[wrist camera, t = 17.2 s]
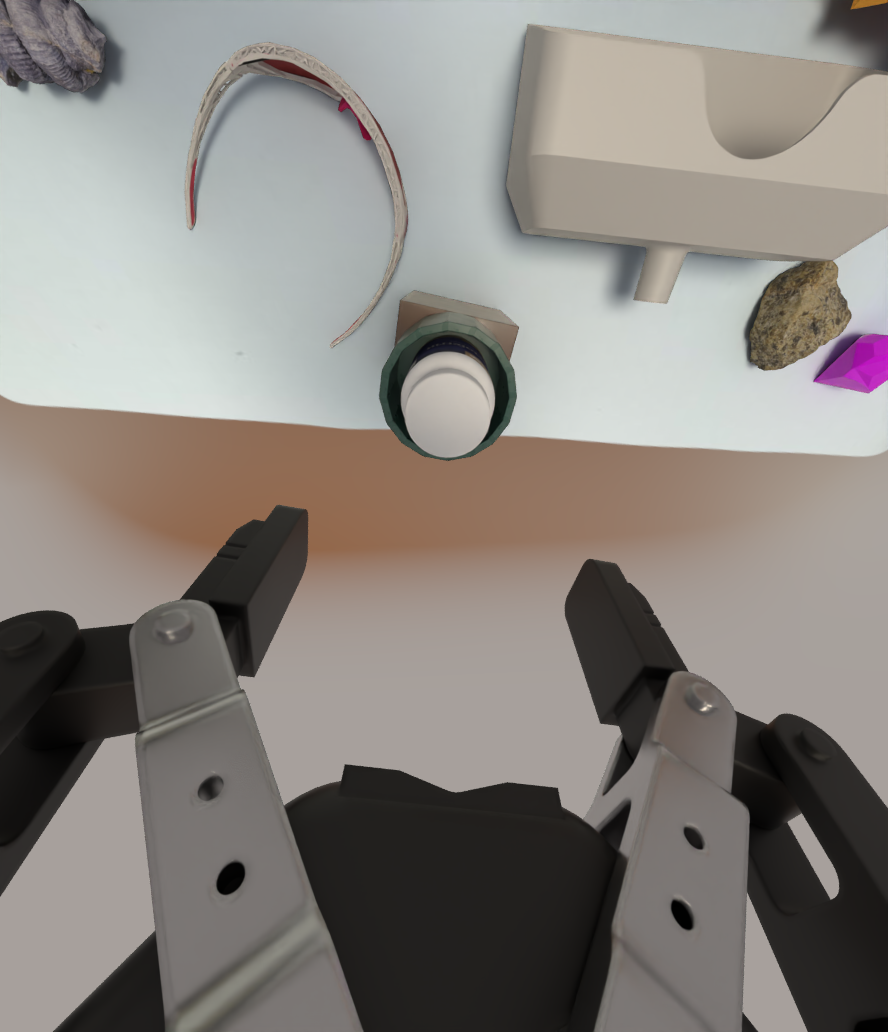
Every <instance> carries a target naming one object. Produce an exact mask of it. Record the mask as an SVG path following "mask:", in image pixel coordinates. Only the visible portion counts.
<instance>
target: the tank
mask: <svg viewBox="0 0 888 1032" xmlns="http://www.w3.org/2000/svg"><path fill="white" fill-rule="evenodd" d="M506 187H507V190H508V193H509V196H510V198H511V201H512V204H513V207H514V210H515V213H516V216H517V219H518V222H519V225H520V227H521V230H522V233H526V234H533V235H542V236H551V237H561V238H570V239H579V240H588V241H597V242H606V243H615V244H624V245H633V246H642V247H646V250H647V252H646V256H645V260H644V263H643V267H642V271H641V274H640V278H639V281H638V285H637V289H636V292H635V296H634V299H633V300H638V301H645V302H653V303H663V304H667V302H668V300H669V297H670V294H671V292H672V289H673V287H674V284H675V281H676V279H677V276H678V274H679V271H680V269H681V266H682V263H683V261H684V258H685V256H686V254H687V253H688V252H697V253H706V254H715V255H724V256H733V257H742V258H751V259H760V260H769V261H833V260H835V259H836V258H838V257H840V256H841V255H843V254H844V253H846V252H848V251H849V250H851V249H852V248H854V247H855V246H857V245H859V244H860V243H862V242H863V241H865V240H867V239H868V238H870V237H871V236H873V235H875V234H876V233H878V232H879V231H881V230H883V229H884V228H886V227H887V226H888V71H881V70H875V69H869V68H862V67H856V66H848V65H841V64H833V63H826V62H818V61H810V60H803V59H795V58H787V57H780V56H772V55H764V54H757V53H749V52H741V51H734V50H726V49H719V48H711V47H703V46H696V45H688V44H680V43H673V42H665V41H657V40H650V39H642V38H634V37H627V36H619V35H611V34H604V33H596V32H588V31H581V30H573V29H565V28H558V27H550V26H542V25H534V24H528V26H527V33H526V41H525V48H524V56H523V63H522V70H521V78H520V85H519V93H518V100H517V107H516V115H515V122H514V130H513V137H512V144H511V152H510V159H509V167H508V174H507V181H506Z"/></svg>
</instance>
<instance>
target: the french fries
mask: <svg viewBox="0 0 888 1032" xmlns="http://www.w3.org/2000/svg"><path fill="white" fill-rule="evenodd" d="M883 3H888V0H854V1H853V4H852V7H851V9H857V8H862V7H867V6H873V5H878V4H883Z"/></svg>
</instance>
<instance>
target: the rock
mask: <svg viewBox="0 0 888 1032" xmlns="http://www.w3.org/2000/svg"><path fill="white" fill-rule="evenodd" d="M837 278H838V267H837V265H836V264H835V263H834V262H833V261H806V262H805V263H803V264H802V265H801V266H800V267H797V268H793V269H789V270H788V271H786V272H784V273H782V274H780V275H779V276H778V277H777V278H776V279H775V280H774V281H772V282H771V284H770V285H769V287H768V289H767V290H766V292H765V295H764V296H763V298H762V300H761V305H760V308H759V311H758V315H757V318H756V320H755V322H754V326H753V328H752V329H751V330H750V337H749V339H750V341H751V357H750V362H753V363H755V365H757V366H758V368H759V369H760V368H761V369H762V370H777V369H782V368H784V367H786V366H787V365H789V364H792V363H795V362H796V361H797V360H798V359H802V358H805V357H807V356H808V355H810V354H812V353H813V352H815V351H816V350H817V349H818V347H819V346H821V345H825V344H826V343H827V342H828V341H829V340H832V339H834V338H836V337H837V336H839V335H840V334H841V333H842V332H843V330H844V329H845V328H846V326H847V324H848V322H849V321H850V319H851V312H850V310H849V309H848V306H847V301H846V299H845V298H844V297H843V295H842V294H841V293H840V288H839V287H838V285H837V281H836V279H837Z"/></svg>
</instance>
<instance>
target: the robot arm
mask: <svg viewBox="0 0 888 1032" xmlns="http://www.w3.org/2000/svg"><path fill="white" fill-rule="evenodd" d="M307 555H308V512H307V510H306V509H300V508H294V507H288V506H282V505H277V506H276V507H275V508H274V510H273V511H272V513H271V514H270V515H269V516H268V518H267V519H266V521H259V520H252V521H250V522H249V523H247V524H245V525H243V526H242V527H240V528H238V529H236V531H235V532H234V533H233V534H232V536H231V537H230V538H229V540H228V541H227V542H226V545H224V546H223V547H222V548H221V549H220V550H219V552H218V553H217V556H216V557H214V558H213V559H212V560H211V562H210V563H209V564H208V565H207V567H206V568H205V569H204V570H203V572H202V573H201V574H200V575H199V576H198V578H197V579H196V580H195V582H194V583H193V584H192V585H191V586H190V588H189V589H188V590H187V591H186V593H185V594H184V595H183V596H182V598H181V599H180V600H176V601H172V602H168V603H165V604H162V605H159V606H157V607H155V608H153V609H151V610H149V611H148V612H146V613H145V614H144V615H142V616H141V617H140V618H139V619H138V620H137V621H136V622H135V623H133V624H127V625H118V626H109V627H99V628H89V629H80V630H79V628H78V625H77V623H76V621H75V619H74V618H73V617H72V616H70V615H68V614H66V613H63V612H59V611H36V612H30V613H26V614H21V615H18V616H15V617H12V618H9V619H7V620H4V621H2V622H0V896H1V894H2V893H3V892H4V890H5V889H6V887H7V886H8V884H9V883H10V881H11V880H12V878H13V876H14V875H15V873H16V872H17V870H18V869H19V867H20V866H21V864H22V863H23V861H24V860H25V858H26V857H27V855H28V854H29V852H30V851H31V849H32V848H33V846H34V844H35V843H36V842H37V840H38V839H39V837H40V836H41V834H42V832H43V831H44V830H45V828H46V826H47V825H48V824H49V822H50V821H51V819H52V817H53V816H54V814H55V813H56V811H57V810H58V808H59V807H60V805H61V804H62V802H63V801H64V799H65V798H66V796H67V795H68V793H69V792H70V790H71V789H72V787H73V786H74V784H75V783H76V781H77V780H78V778H79V777H80V775H81V774H82V772H83V770H84V769H85V768H86V766H87V765H88V763H89V762H90V760H91V758H92V757H93V755H94V754H95V752H96V751H97V749H98V748H99V746H100V745H101V743H102V742H103V740H104V739H105V738H110V737H115V736H121V735H126V734H131V733H136V732H138V733H137V734H136V737H135V747H136V758H137V767H138V776H139V785H140V794H141V802H142V803H141V804H142V812H143V822H144V831H145V840H146V849H147V858H148V867H149V876H150V885H151V895H152V904H153V913H154V922H155V931H154V932H153V933H152V934H151V935H150V936H149V937H148V938H147V939H146V940H145V941H144V942H143V943H142V944H141V945H140V946H139V947H138V948H137V949H136V950H135V951H134V952H133V953H132V954H131V955H130V956H129V957H128V958H127V959H126V960H125V961H124V962H123V963H122V964H121V965H120V966H119V967H118V968H117V969H116V970H115V971H114V972H113V973H112V974H111V975H110V976H109V977H108V978H107V979H106V980H105V981H104V982H103V983H102V984H101V985H100V986H99V987H98V988H97V989H96V990H95V991H94V992H93V993H92V994H91V995H90V996H89V997H88V998H86V999H85V1000H84V1001H83V1003H82V1004H81V1005H80V1006H78V1007H77V1008H76V1009H75V1010H74V1011H73V1012H72V1013H71V1014H70V1015H69V1016H68V1017H67V1018H66V1019H65V1020H64V1021H63V1022H62V1023H61V1024H60V1026H58V1027H57V1028H56V1029H55V1030H54V1031H53V1032H758V1031H757V1030H756V1029H755V1027H754V1026H753V1025H752V1024H751V1022H750V1021H749V1020H748V1018H747V1017H746V1016H745V1015H744V1013H743V1012H742V1005H743V980H744V953H745V928H746V901H747V893H748V895H749V897H750V900H751V902H752V904H753V906H754V909H755V911H756V913H757V916H758V918H759V920H760V923H761V925H762V927H763V930H764V932H765V934H766V936H767V939H768V941H769V943H770V945H771V948H772V950H773V953H774V955H775V957H776V959H777V962H778V964H779V966H780V969H781V971H782V973H783V975H784V978H785V980H786V982H787V985H788V987H789V989H790V991H791V994H792V996H793V998H794V1001H795V1003H796V1005H797V1008H798V1010H799V1012H800V1015H801V1017H802V1019H803V1022H804V1024H805V1026H806V1028H807V1031H808V1032H888V808H887V807H886V805H885V804H884V803H883V802H882V800H881V799H880V797H879V796H878V795H877V793H876V792H875V791H874V790H873V788H872V787H871V786H870V784H869V783H868V782H867V780H866V779H865V778H864V776H863V775H862V774H861V773H860V771H859V770H858V769H857V767H856V766H855V765H854V763H853V762H852V761H851V759H850V758H849V757H848V756H847V754H846V753H845V752H844V750H842V748H841V747H840V746H839V745H838V744H837V743H836V742H835V741H834V740H833V739H832V738H831V737H830V736H829V735H828V734H827V733H825V732H824V731H823V730H822V729H820V728H818V727H817V726H816V725H814V724H813V723H811V722H809V721H807V720H805V719H803V718H801V717H798V716H796V715H792V714H781V715H779V716H778V717H776V718H775V719H774V720H773V721H772V722H771V723H769V724H765V723H763V722H760V721H758V720H755V719H753V718H751V717H748V716H746V715H744V714H741V713H739V712H736V711H735V710H734V708H733V706H732V705H731V703H730V701H729V700H728V699H727V698H726V696H725V695H724V694H723V693H722V692H721V691H720V690H719V689H718V688H717V687H716V686H714V685H713V684H712V683H710V682H709V681H707V680H706V679H704V678H702V677H701V676H698V675H696V674H693V673H690V672H689V671H688V670H687V668H686V666H685V664H684V663H683V661H682V659H681V658H680V656H679V654H678V652H677V651H676V649H675V647H674V646H673V644H672V642H671V641H670V639H669V637H668V635H667V634H666V632H665V630H664V629H663V628H662V627H661V624H660V622H659V620H658V618H657V617H656V615H654V614H653V613H654V612H653V610H652V608H651V607H650V605H649V603H648V601H647V600H646V598H645V597H644V596H643V595H642V594H641V593H640V592H639V591H638V590H637V589H636V588H635V587H634V586H633V585H632V584H631V583H627V581H626V579H625V577H624V575H623V574H622V572H621V570H620V568H619V567H618V565H617V564H615V563H611V562H605V561H599V560H593V559H588V560H587V561H586V562H585V563H584V564H583V566H582V568H581V570H580V572H579V574H578V576H577V578H576V580H575V582H574V584H573V586H572V588H571V590H570V592H569V594H568V596H567V598H566V602H565V617H566V620H567V623H568V626H569V629H570V632H571V635H572V638H573V641H574V644H575V647H576V651H577V654H578V657H579V660H580V663H581V665H582V669H583V672H584V675H585V678H586V681H587V684H588V687H589V690H590V693H591V696H592V700H593V703H594V705H595V709H596V712H597V715H598V718H599V721H600V723H601V724H608V725H616V726H619V727H620V730H621V733H622V734H621V736H620V737H619V738H618V739H617V741H616V743H615V746H614V748H613V751H612V754H611V756H610V759H609V762H608V765H607V767H606V770H605V772H604V775H603V777H602V780H601V783H600V785H599V788H598V791H597V793H596V796H595V799H594V801H593V803H592V805H591V807H590V809H589V811H588V812H587V814H586V816H585V817H584V819H581V818H580V817H579V816H577V815H575V814H574V813H572V812H570V811H568V810H567V809H565V808H563V807H562V806H561V802H560V797H559V792H558V788H553V787H544V786H535V785H526V784H517V783H508V782H507V783H502V784H497V785H493V786H488V787H483V788H479V789H473V790H468V791H464V792H457V793H455V792H450V791H447V790H445V789H442V788H440V787H438V786H435V785H433V784H431V783H428V782H426V781H423V780H421V779H419V778H416V777H414V776H411V775H409V774H407V773H404V772H402V771H399V770H391V769H382V768H373V767H364V766H355V765H345V766H344V771H343V775H342V780H341V781H339V782H334V783H329V784H326V785H323V786H320V787H317V788H314V789H312V790H310V791H308V792H306V793H304V794H302V795H300V796H299V797H297V798H295V799H294V800H292V801H290V802H289V803H287V804H286V805H283V802H282V799H281V796H280V793H279V790H278V787H277V784H276V781H275V778H274V775H273V772H272V769H271V766H270V763H269V760H268V757H267V754H266V751H265V748H264V745H263V742H262V739H261V736H260V733H259V730H258V728H257V725H256V721H255V718H254V715H253V713H252V709H251V706H250V703H249V701H248V698H247V695H246V693H245V691H244V690H243V689H242V690H241V688H240V686H239V682H238V679H237V678H238V676H239V675H241V676H248V677H255V675H256V673H257V671H258V668H259V666H260V664H261V662H262V660H263V658H264V656H265V653H266V652H267V650H268V647H269V645H270V643H271V641H272V639H273V637H274V635H275V633H276V631H277V629H278V626H279V624H280V622H281V620H282V618H283V616H284V614H285V612H286V609H287V607H288V605H289V603H290V601H291V599H292V597H293V595H294V593H295V591H296V588H297V586H298V584H299V582H300V580H301V578H302V576H303V573H304V570H305V567H306V562H307ZM801 813H802V814H803V815H804V817H805V819H806V821H807V822H808V824H809V826H810V827H811V829H812V831H813V832H814V834H815V836H816V837H817V839H818V841H819V842H820V844H821V846H822V847H823V849H824V851H825V853H826V854H827V856H828V858H829V859H830V861H831V862H832V864H833V866H834V868H835V870H836V873H837V876H838V879H839V893H838V895H837V896H836V897H835V898H834V899H832V900H830V898H829V896H828V894H827V892H826V891H825V889H824V887H823V885H822V884H821V882H820V880H819V878H818V877H817V875H816V873H815V871H814V869H813V868H812V866H811V864H810V862H809V860H808V859H807V857H806V855H805V853H804V852H803V850H802V848H801V846H800V845H799V843H798V841H797V839H796V837H795V835H794V834H793V832H792V830H791V829H790V827H789V825H788V823H787V822H788V821H789V820H791V819H793V818H795V817H796V816H798V815H799V814H801Z"/></svg>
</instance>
